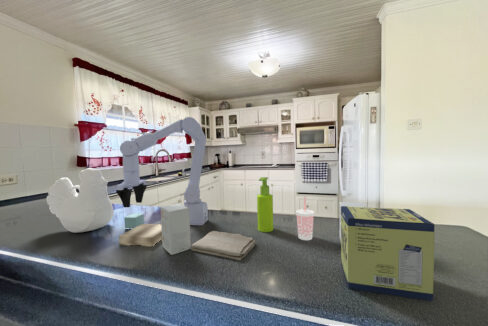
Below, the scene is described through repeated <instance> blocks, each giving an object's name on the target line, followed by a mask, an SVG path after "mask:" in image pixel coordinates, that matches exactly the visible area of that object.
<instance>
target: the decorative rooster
mask: <svg viewBox="0 0 488 326" xmlns="http://www.w3.org/2000/svg"><path fill="white" fill-rule="evenodd" d="M77 175H78V176H77V177H78V179H79V181H80V182H79V184H76V185H74V184H73V183H72V181H71V179H70V178H69V177H60V178H59V179H57V180H55V182H54V184H52V185H51V186H50V187H49V188H48V192H47V196H46V199H45V200H46V204H47V205H48V208H49V211H50V212H51V214H52V215H55V216H56V218H58V219H59V222H60V223H61V224H62V226H63V227H64V229H66V230H67V231H69V232H70V233H74V234H75V233H84V232H90V231H94V230H97V229H98V230H99V229H100V228H103V227H105V226H106V225H108V224H109V222H111V221H112V219H113V217H114V214H115V213H114V208H113V207H114V206H113V203H112V200H111V199H110V196H109V192H108V183H109V181H108V179H105V177H104V176H103V173H102V171H101V170H100V169H98V168H92V167H88V168H85V169H82V170H80V171H78V174H77ZM77 190H78V191H79V192H77Z"/></svg>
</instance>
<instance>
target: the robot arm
mask: <svg viewBox="0 0 488 326" xmlns="http://www.w3.org/2000/svg"><path fill="white" fill-rule="evenodd" d="M174 133H180V134H183V133H185V134H187V135H188V136H189V137H191V139H192V140H193V142H194V148H193V152H192V154H193V155H192V159H191V165H190V170H189V171H190V173H189V179H188V184H187V187H186V189H185V191H184V193H183V198H184V201H183V206H185V207H188V208H189V219H190V226H204V225H205V223H207V221H208V220H209V217H208V215H209V214H208V208H209V207H208V203H207V202H206V201H202V199H201V198H200V196H201V194H200V193H201V189H200V182H201V174H202V169H203V164H204V157H205V156H204V155H205V152H206V151H205V150H206V144H207V138H206V135H205V133H204V131H203V129H202V127H201V125H200V123H199V122H198V121H197V120H196V119H195V118H194V117H191V116H186V117H184V118H183V119H182V118H181V119H178V120H177V121H174V122H172V123H170V124H168V125H166V126H164V127H162V128H161V129H159V130H157V131H154V132H151V131H147V132H145V131H143V132H141V134H140V135H139V136H136V137H135V138H134V137H132V138H130V140H125V141H123V142H122V143H121V144H120V146H119V150H120V153H121V154H122V171H123V172H122V173H123V175H122V176H123V181H122V182H121V183H120V184H117V185H116V189H115V193H116V194H117V195H118V196H119V198H120V200H121V203H122V205H123V208H130V207H131V196H132V193H134V196H135V202H136V204H137V203H141V204H142V202H143V198H144V194H145V191H146V190H147V187H148V185H147V184H146V179H141V178H140V175H141V174H140V160H139V159H140V158H139V154H140V152H143V151H145V150H147V149H150V148H153V146H156V145H157V142H158V140H161V139H164V138H166V137H168V136H170V135H173V134H174ZM130 188H132V189H130ZM133 191H134V192H133Z"/></svg>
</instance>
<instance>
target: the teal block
mask: <svg viewBox="0 0 488 326" xmlns="http://www.w3.org/2000/svg"><path fill="white" fill-rule="evenodd" d="M123 219H124V229H125V228H129V229H130V228H135V227H137V226H139V225H140V224H145V216H144V213H131V214H129V215H127V216H124V217H123Z"/></svg>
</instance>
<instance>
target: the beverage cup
mask: <svg viewBox="0 0 488 326" xmlns="http://www.w3.org/2000/svg"><path fill="white" fill-rule="evenodd" d="M306 201H307V200H306V196H304V197H303V206H304V207H303V208H304V209H303V208H301V209H300V208H299V209H297V210H296V211H295V215H296V222H297V223H296V224H297V226H296V227H297V236H298V237H297V238H298V239H300V240H301V241H310V240H313V231H314V216H315V211H314V210H311V209H306V208H307V207H306V204H307V203H306Z"/></svg>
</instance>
